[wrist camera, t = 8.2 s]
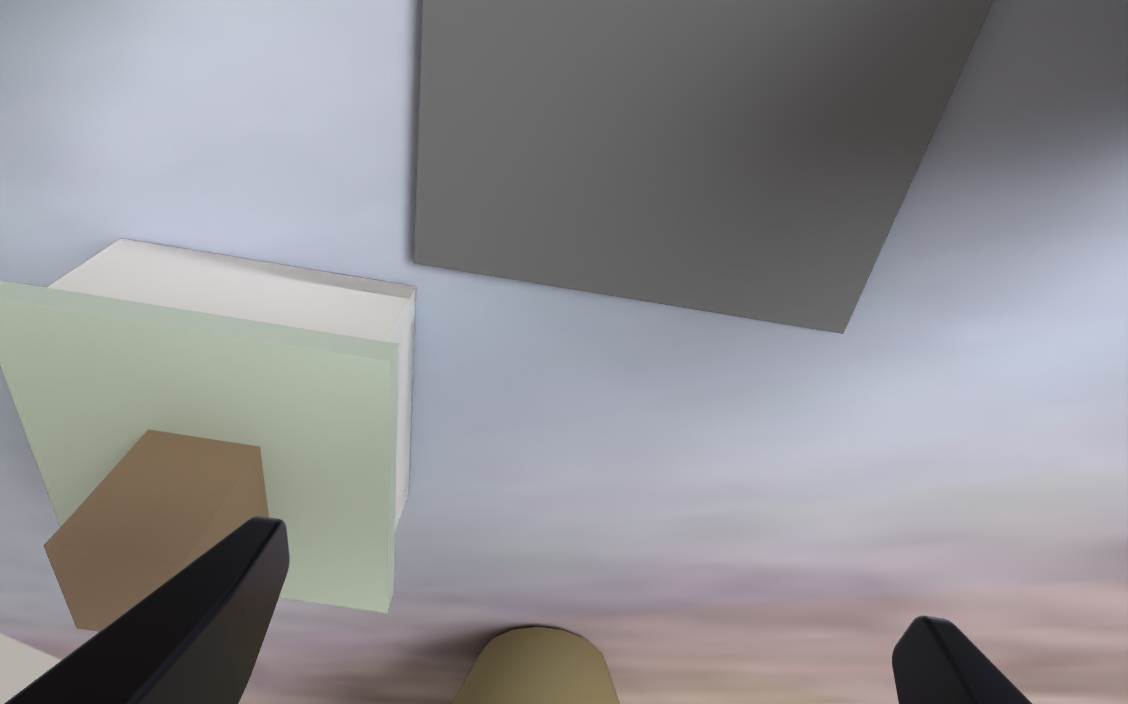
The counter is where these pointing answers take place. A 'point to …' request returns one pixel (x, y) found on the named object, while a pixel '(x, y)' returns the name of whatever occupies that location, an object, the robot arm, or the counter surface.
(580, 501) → the counter surface
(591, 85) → the mat
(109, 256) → the white box
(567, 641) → the squeeze bottle
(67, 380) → the lid
